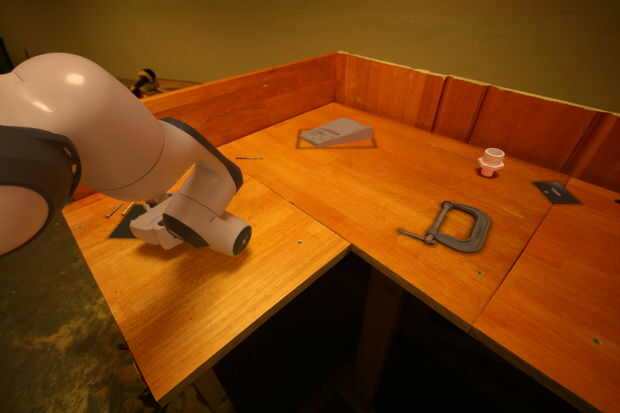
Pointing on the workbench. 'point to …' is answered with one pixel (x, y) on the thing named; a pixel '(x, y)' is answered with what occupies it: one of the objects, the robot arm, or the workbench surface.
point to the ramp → (337, 133)
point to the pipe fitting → (491, 161)
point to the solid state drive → (556, 193)
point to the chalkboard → (128, 223)
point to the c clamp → (460, 245)
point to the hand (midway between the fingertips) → (154, 200)
